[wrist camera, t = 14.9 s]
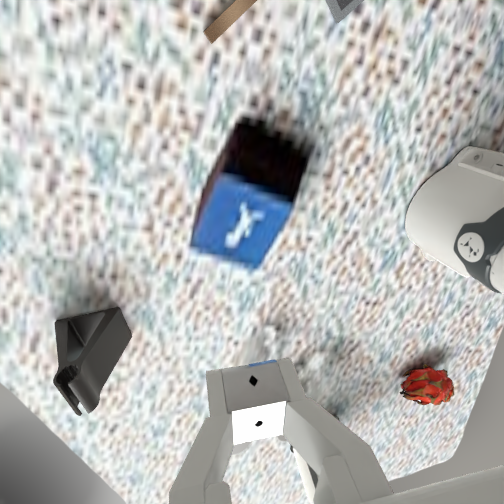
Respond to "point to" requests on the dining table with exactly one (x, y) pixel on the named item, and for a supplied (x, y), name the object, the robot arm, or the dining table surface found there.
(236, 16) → the walnut track
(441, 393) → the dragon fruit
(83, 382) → the phone stand
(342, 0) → the trap pits
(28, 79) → the dining table surface
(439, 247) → the robot arm
